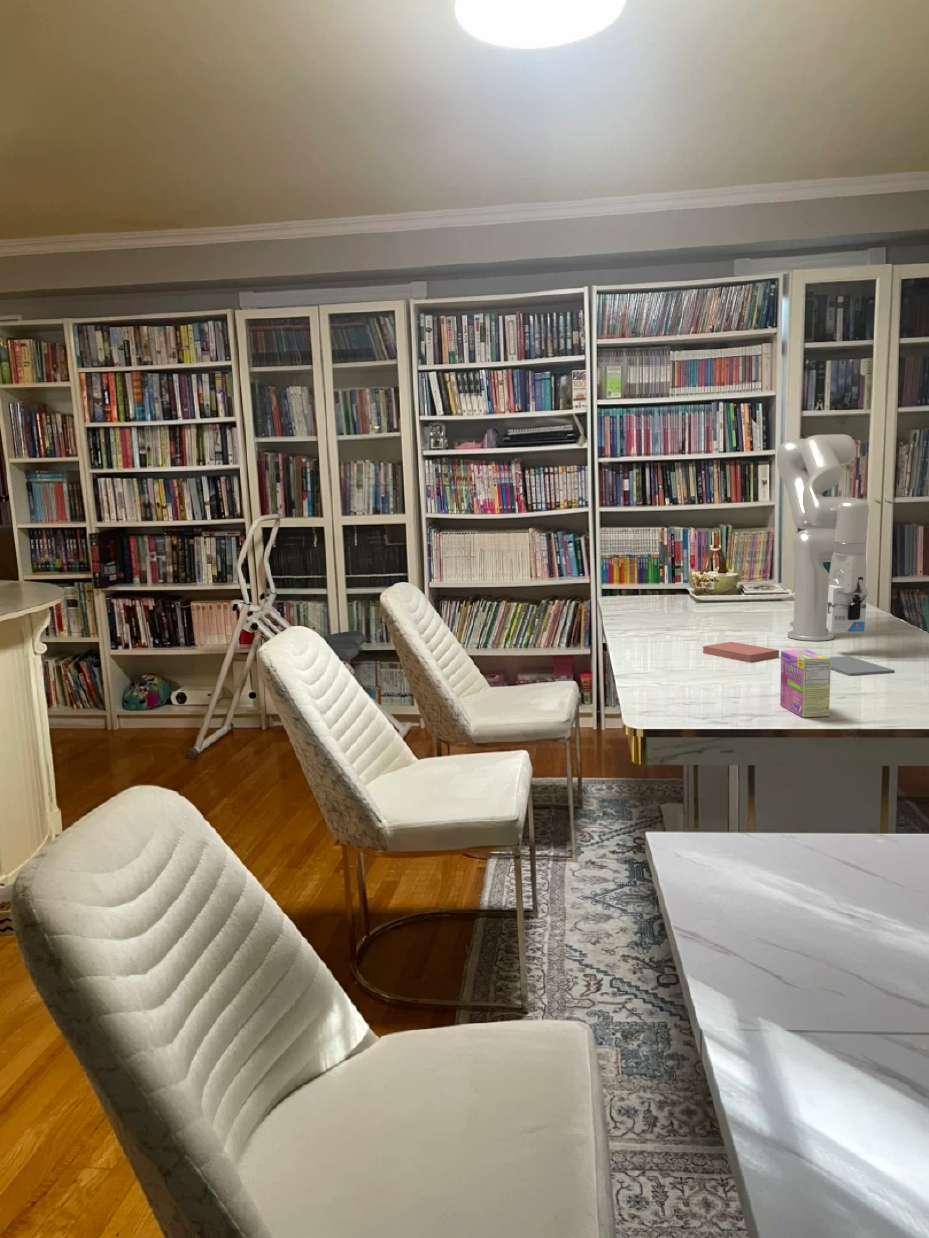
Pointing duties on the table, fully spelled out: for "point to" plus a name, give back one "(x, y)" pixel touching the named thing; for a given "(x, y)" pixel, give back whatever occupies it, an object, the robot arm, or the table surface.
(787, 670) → the box
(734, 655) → the hardcover book
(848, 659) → the slate mat
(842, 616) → the ink box
